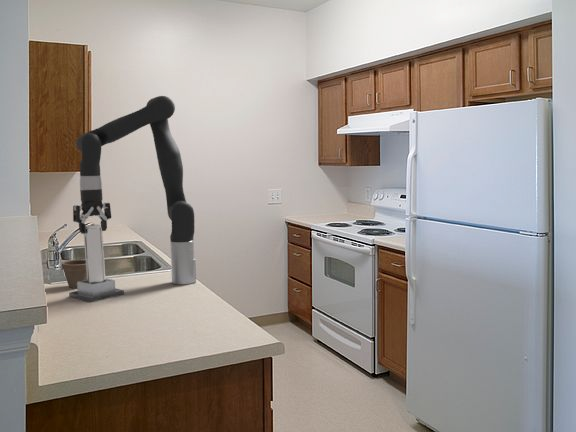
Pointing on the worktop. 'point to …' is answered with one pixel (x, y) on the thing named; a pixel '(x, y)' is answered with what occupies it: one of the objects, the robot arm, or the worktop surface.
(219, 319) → the worktop surface
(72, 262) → the flower pot
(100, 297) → the duct collar
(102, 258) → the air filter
